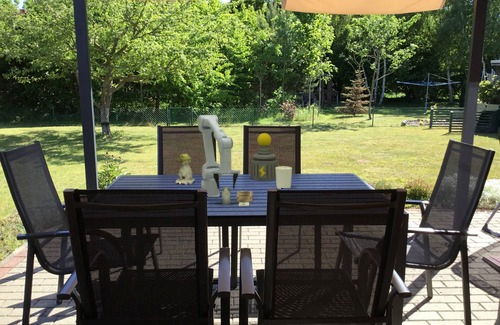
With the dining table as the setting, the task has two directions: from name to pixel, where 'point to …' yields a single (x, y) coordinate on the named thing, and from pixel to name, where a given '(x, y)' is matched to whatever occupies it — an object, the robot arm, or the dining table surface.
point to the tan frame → (244, 196)
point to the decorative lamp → (264, 161)
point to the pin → (226, 195)
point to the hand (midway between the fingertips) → (226, 188)
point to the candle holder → (283, 177)
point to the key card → (243, 203)
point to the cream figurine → (185, 170)
